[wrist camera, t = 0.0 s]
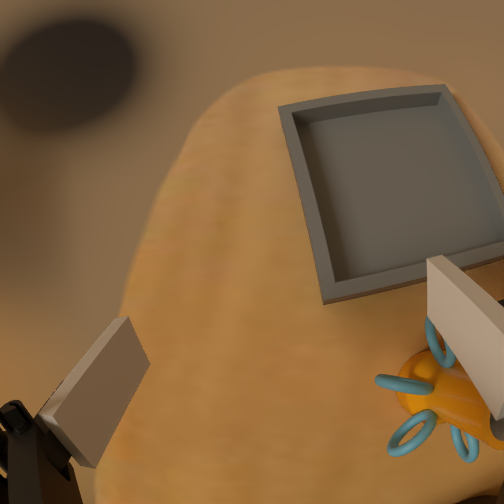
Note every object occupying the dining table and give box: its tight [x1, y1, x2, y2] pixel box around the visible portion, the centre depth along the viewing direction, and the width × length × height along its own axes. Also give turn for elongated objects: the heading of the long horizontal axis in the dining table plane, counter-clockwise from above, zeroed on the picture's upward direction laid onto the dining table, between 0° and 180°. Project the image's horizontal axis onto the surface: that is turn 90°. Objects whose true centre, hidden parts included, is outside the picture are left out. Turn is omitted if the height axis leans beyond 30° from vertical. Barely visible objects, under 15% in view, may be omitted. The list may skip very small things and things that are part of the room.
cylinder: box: [375, 316, 504, 463], centre depth 16 cm, size 12×10×15 cm
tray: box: [278, 84, 504, 305], centre depth 28 cm, size 20×20×3 cm
